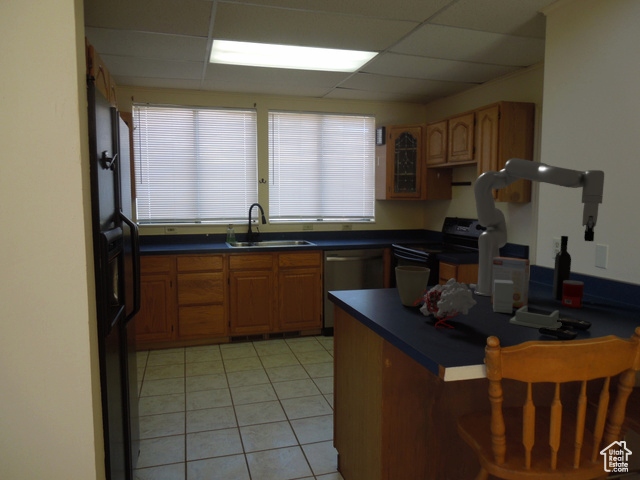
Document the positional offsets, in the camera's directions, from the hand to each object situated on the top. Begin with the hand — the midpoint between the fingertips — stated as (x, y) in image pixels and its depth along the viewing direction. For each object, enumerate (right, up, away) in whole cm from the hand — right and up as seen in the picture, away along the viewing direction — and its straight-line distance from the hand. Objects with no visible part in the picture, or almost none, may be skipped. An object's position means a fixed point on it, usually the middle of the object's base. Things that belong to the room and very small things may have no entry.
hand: (588, 240), depth 195 cm
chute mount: (-32, -32, -21) cm, 49 cm away
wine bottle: (0, -28, +23) cm, 36 cm away
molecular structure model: (-68, -32, -25) cm, 79 cm away
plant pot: (-74, -28, +6) cm, 80 cm away
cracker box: (-30, -29, +9) cm, 43 cm away
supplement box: (-38, -30, -2) cm, 48 cm away
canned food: (-3, -30, +8) cm, 31 cm away
